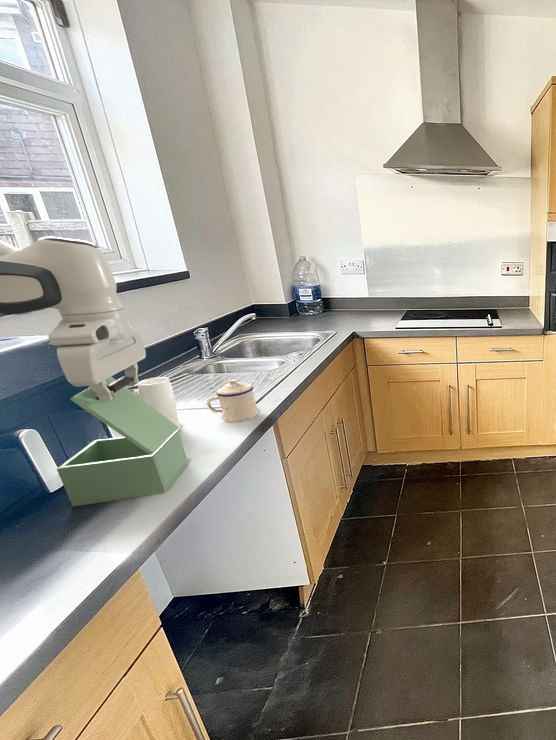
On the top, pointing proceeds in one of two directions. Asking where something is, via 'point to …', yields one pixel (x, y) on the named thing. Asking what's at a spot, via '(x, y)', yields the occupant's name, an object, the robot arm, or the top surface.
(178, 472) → the storage box
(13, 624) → the top surface
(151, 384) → the white vase
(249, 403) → the teacup with lid
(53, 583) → the top surface
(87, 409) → the box lid
